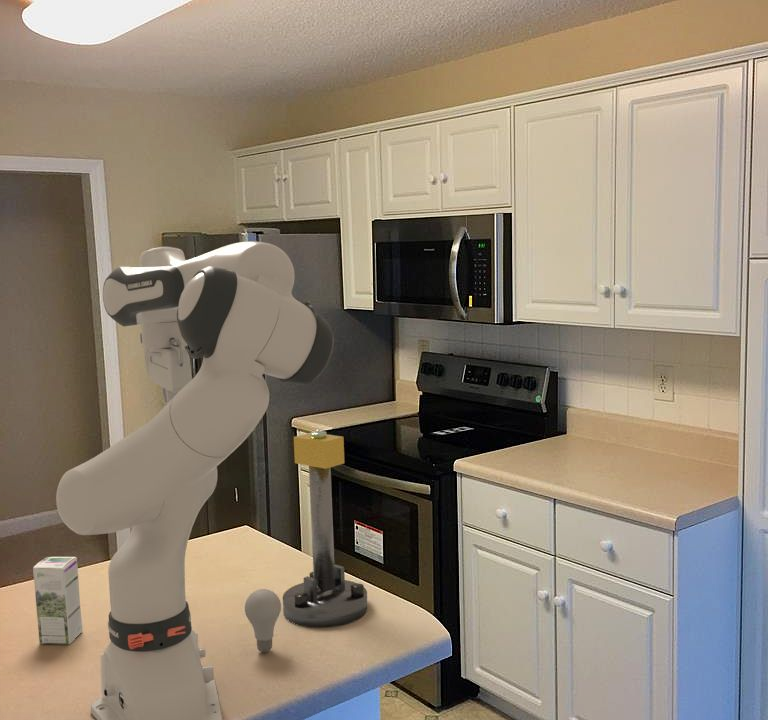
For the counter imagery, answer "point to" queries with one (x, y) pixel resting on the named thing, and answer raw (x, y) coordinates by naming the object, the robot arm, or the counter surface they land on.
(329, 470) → the instrument mast
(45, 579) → the syrup box
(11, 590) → the counter surface
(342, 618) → the tribrach base
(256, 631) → the lightbulb
